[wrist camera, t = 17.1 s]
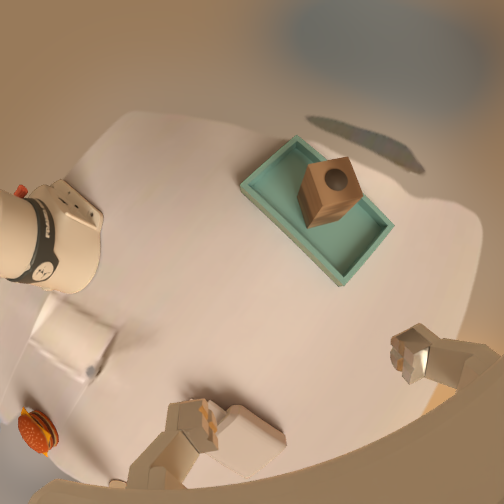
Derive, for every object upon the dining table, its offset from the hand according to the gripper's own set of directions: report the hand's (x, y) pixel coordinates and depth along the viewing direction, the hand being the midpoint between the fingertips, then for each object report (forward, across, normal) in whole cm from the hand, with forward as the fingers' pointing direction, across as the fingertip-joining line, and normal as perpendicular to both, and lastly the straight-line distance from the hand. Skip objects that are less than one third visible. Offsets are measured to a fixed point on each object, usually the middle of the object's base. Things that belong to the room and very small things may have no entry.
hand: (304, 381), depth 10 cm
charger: (+20, +10, +26) cm, 35 cm away
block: (+30, -12, 0) cm, 32 cm away
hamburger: (+22, +53, +26) cm, 63 cm away
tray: (+31, -12, 0) cm, 33 cm away
